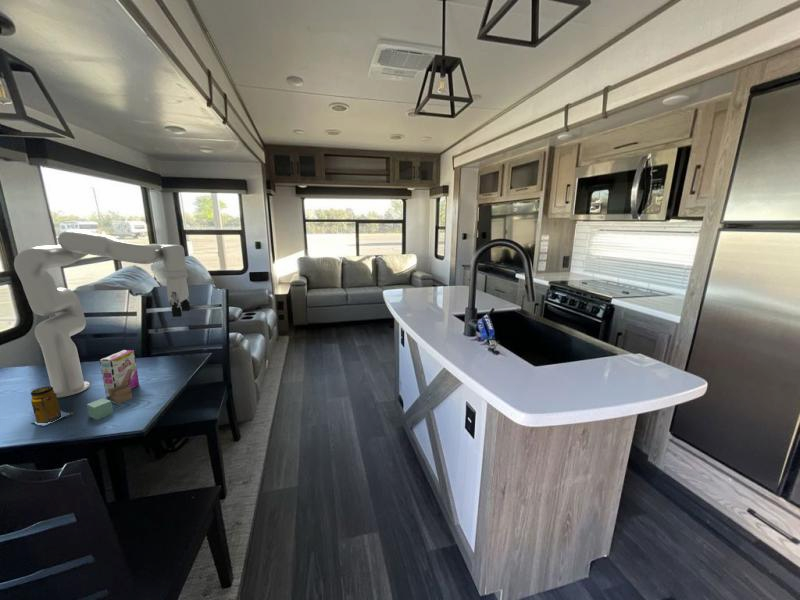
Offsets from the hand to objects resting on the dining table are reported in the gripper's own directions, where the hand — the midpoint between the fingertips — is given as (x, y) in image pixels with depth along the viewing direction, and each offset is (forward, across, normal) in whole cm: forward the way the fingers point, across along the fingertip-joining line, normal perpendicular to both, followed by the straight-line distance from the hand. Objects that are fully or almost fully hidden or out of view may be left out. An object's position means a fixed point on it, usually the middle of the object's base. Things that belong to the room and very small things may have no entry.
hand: (181, 313), depth 140 cm
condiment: (+32, +23, -37) cm, 53 cm away
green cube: (+31, +24, -22) cm, 45 cm away
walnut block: (+31, +13, -20) cm, 40 cm away
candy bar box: (+32, +5, -23) cm, 40 cm away
